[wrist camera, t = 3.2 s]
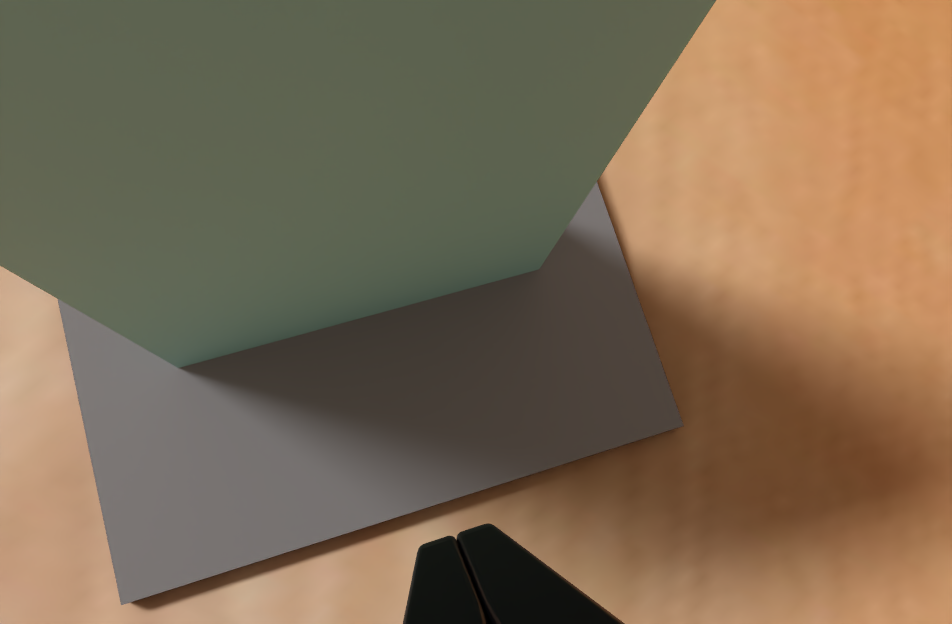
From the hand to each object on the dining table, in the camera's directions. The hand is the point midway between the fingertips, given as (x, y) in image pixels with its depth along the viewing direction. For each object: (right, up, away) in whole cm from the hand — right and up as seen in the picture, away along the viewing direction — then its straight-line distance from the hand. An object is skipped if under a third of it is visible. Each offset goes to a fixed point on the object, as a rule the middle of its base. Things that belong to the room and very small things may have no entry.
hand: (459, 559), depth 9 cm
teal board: (-2, +3, +8) cm, 9 cm away
